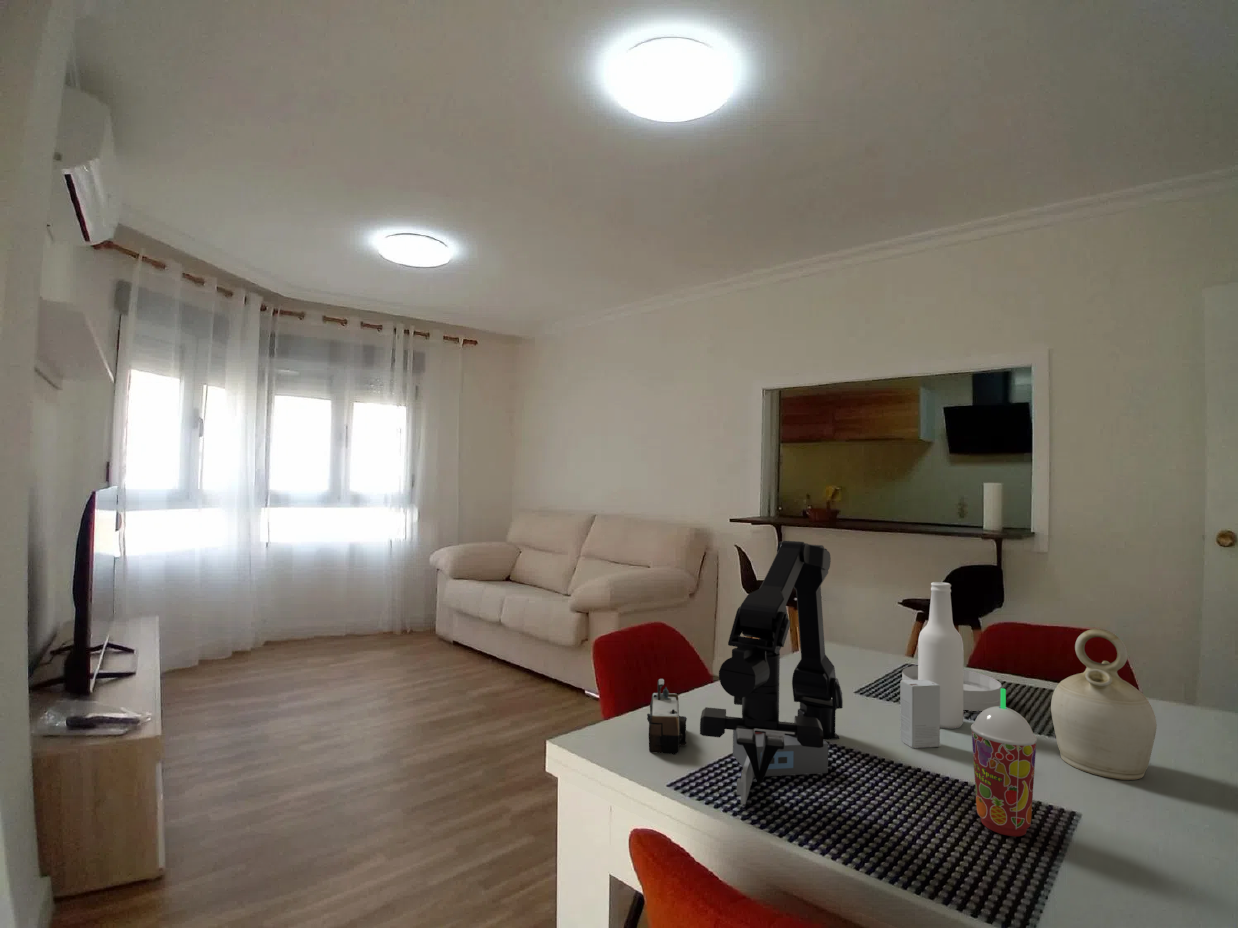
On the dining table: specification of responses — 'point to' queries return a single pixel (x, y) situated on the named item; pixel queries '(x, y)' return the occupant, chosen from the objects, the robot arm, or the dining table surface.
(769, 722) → the robot arm
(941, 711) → the alcohol
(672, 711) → the camera
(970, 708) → the dish
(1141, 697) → the jug
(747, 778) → the side door
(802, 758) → the grey appliance box
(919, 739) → the skincare box
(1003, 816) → the smoothie
